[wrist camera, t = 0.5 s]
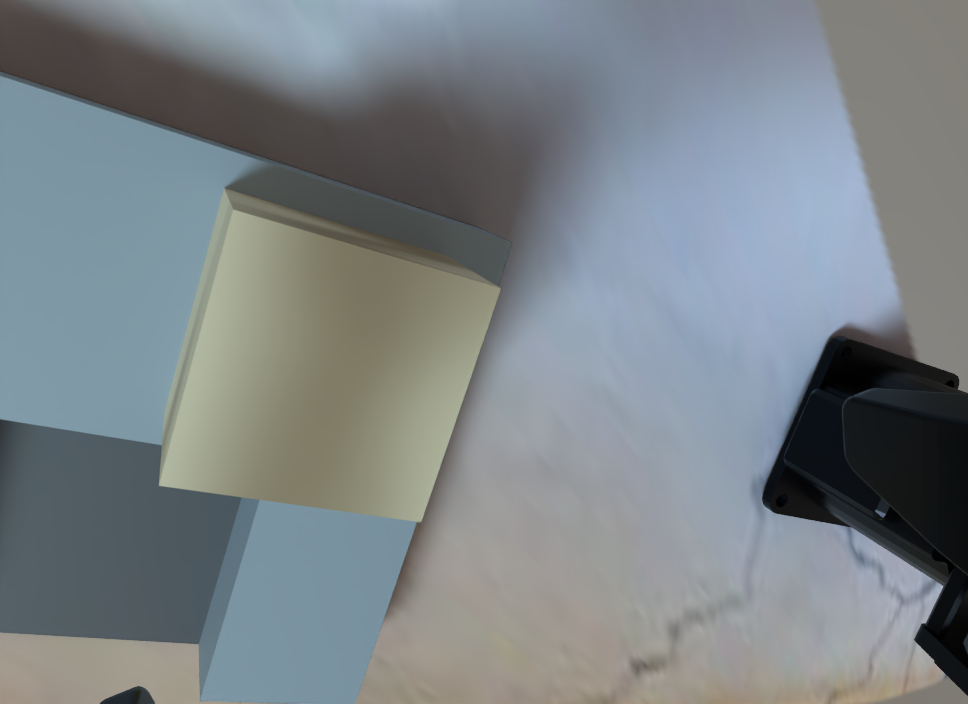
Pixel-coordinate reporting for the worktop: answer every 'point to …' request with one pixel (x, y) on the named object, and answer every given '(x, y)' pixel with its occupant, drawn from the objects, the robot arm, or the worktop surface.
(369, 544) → the board
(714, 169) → the worktop surface
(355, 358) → the block
